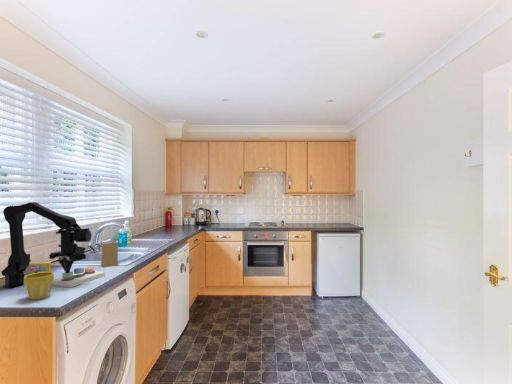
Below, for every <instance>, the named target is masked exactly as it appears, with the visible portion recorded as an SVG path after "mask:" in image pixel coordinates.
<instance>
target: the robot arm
mask: <svg viewBox="0 0 512 384" xmlns="http://www.w3.org/2000/svg"><path fill="white" fill-rule="evenodd" d="M30 212H33V213H35V214H37V215H39V216H41V217H43V218H44V219H46V220H49V221H51V222H53V223H54V225H56V227H58V228H59V229H58V230H57V231H56V232H55V234H56V235H60V244H58V248H60V250H58V251H54V252H50V254H48V255H49V257H48V258H49V259H50V260H54V259H56V258H58V259H57V262H58V263H59V264H60V266H61V267H62V269H63V270H64V273H65V272H66V273H69V272H71V269H72V267H73V264H74V262H77V261H82V260H86V258H87V256H86V255H87V254H85V252H86V247H83V246H79V245H78V244H77V243H82V242H84V243H86V242H87V243H89V242H90V241H91V239H92V234H93V233H92V232H91V230H90V228H89V227H87V228H81V225H79V224H78V223H77V219H76V218H75V217H72V216H71V215H66V214H60V213H58V212H55V211H54V210H52V209H50V208H48V207H45V206H44V205H42V204H40V203H39V202H37V201H36V202H35V201H34V202H32V201H29V202H27V203H24V204H19V205H18V204H17V205H9V206H8V205H7V206H5V208H3V211H2V213H3V216H4V217H3V218H4V220H5V221H6V222H7V223H8V226H9V227H8V228H9V238H10V239H9V241H10V256H9V258H8V259H7V266H6V267H5V268H4V269H2V271H1V272H0V273H1V276H3V277H4V284H3V285H2V287H3V288H8V289H13V288H15V287H16V288H17V287H20V286H25V285H24V277H25V274H24V272H22V271H25V270H26V268H27V267H28V265H29V264H30V263H32V260H31V254H30V253H27V252H26V251H25V241H24V230H23V222H24V220H25V218H26V213H30ZM75 242H76V243H75Z"/></svg>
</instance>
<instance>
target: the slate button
mask: <svg viewBox="0 0 512 384" xmlns="http://www.w3.org/2000/svg"><path fill="white" fill-rule="evenodd" d="M84 271H85V268H84V267H77V268H74V269H73V274H80V273H83V272H84Z"/></svg>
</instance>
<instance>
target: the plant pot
mask: <svg viewBox="0 0 512 384" xmlns="http://www.w3.org/2000/svg"><path fill="white" fill-rule="evenodd" d="M54 279H55V273H54V272H53V271H51V272H39V273H33V274H29V275H26V276H25V277H24V285H23V286H25V288H26V291H27V297H28V298H29V300H32V301H33V300H34V301H35V300H40V299H44V298H47V297H49V293H50V290H51V283H52V281H53V280H54Z"/></svg>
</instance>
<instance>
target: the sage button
mask: <svg viewBox="0 0 512 384" xmlns="http://www.w3.org/2000/svg"><path fill="white" fill-rule="evenodd" d="M73 274H74V271H70V272H69V273H66V272H65V271H64V272H62V276H61V277H62V278H70V277H73Z"/></svg>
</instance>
